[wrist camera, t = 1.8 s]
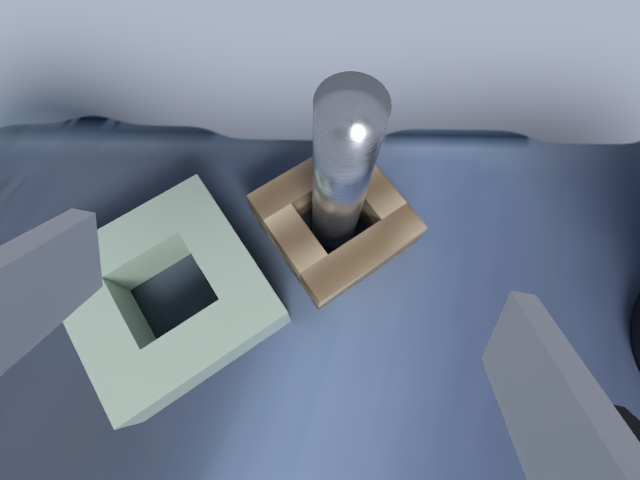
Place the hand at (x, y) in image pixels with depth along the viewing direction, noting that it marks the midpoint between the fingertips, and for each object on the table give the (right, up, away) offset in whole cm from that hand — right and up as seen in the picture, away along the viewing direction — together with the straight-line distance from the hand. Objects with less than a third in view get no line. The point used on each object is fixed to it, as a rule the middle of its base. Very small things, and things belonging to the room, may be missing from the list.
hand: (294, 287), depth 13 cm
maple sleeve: (+2, +3, +25) cm, 25 cm away
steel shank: (+2, +3, +25) cm, 25 cm away
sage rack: (-11, -4, +22) cm, 25 cm away
